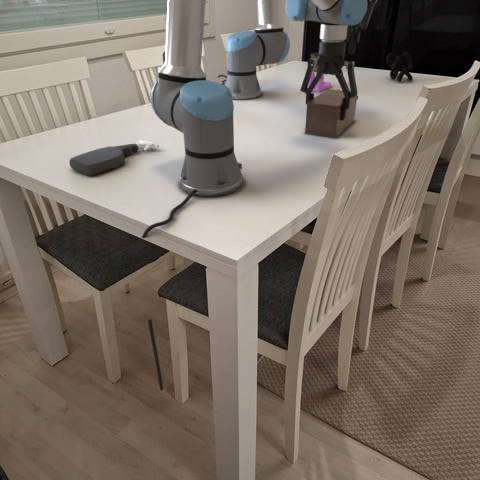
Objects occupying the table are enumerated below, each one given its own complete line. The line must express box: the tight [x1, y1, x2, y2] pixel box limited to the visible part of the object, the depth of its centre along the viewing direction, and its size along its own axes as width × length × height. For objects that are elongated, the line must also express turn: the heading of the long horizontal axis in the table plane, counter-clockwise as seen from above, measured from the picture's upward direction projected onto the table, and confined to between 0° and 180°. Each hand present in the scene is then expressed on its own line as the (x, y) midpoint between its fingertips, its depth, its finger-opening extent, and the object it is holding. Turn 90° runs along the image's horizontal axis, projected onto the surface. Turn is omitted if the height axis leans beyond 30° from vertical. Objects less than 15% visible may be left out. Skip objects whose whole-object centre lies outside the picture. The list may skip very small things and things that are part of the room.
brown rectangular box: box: [304, 88, 358, 139], centre depth 143 cm, size 19×10×10 cm, turn 151°
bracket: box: [307, 71, 332, 93], centre depth 188 cm, size 13×6×7 cm, turn 143°
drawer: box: [354, 95, 359, 117], centre depth 148 cm, size 24×9×8 cm, turn 151°
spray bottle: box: [68, 139, 160, 177], centre depth 124 cm, size 3×11×24 cm
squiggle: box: [385, 51, 414, 83], centre depth 198 cm, size 11×10×15 cm
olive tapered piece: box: [310, 52, 320, 72], centre depth 217 cm, size 8×7×8 cm
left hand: (326, 117), depth 140 cm, fingers closed on brown rectangular box, 10 cm apart
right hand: (351, 53), depth 147 cm, fingers closed
